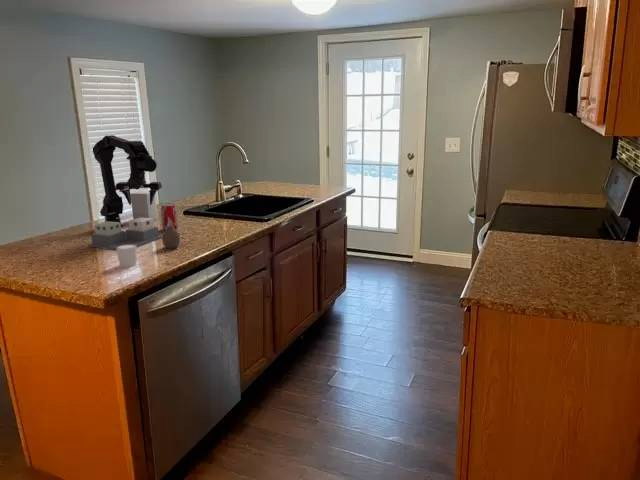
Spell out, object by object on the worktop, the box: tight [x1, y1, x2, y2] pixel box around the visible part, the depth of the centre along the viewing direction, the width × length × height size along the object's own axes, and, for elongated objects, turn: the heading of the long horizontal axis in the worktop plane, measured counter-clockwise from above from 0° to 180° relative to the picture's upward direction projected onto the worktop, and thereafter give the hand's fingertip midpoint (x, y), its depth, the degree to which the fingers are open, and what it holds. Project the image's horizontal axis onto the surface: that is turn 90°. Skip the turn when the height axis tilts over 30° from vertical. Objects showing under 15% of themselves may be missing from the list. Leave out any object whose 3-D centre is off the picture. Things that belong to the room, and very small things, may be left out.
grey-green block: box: [94, 221, 122, 236], centre depth 206 cm, size 7×7×6 cm
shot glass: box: [116, 245, 138, 268], centre depth 179 cm, size 7×7×7 cm
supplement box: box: [130, 190, 158, 222], centre depth 250 cm, size 9×9×15 cm
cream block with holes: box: [128, 217, 155, 231], centre depth 213 cm, size 7×7×6 cm
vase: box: [161, 226, 181, 250], centre depth 201 cm, size 7×7×9 cm
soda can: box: [160, 202, 179, 231], centre depth 232 cm, size 7×7×12 cm
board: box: [87, 226, 163, 251], centre depth 211 cm, size 20×23×5 cm
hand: (140, 204), depth 221 cm, fingers open, 9 cm apart
